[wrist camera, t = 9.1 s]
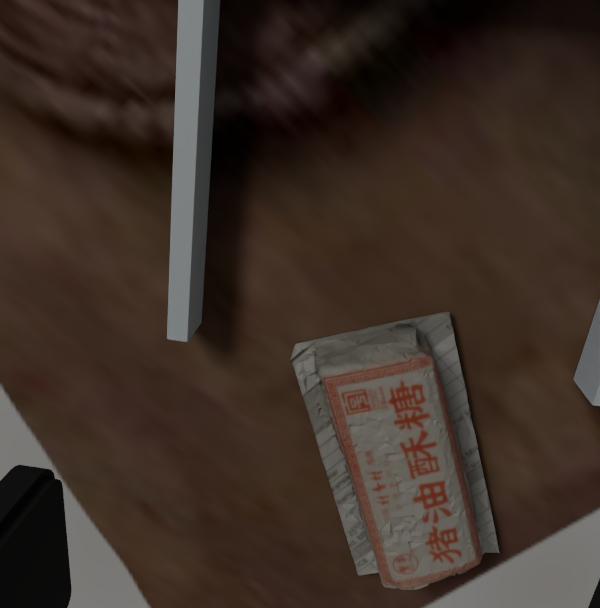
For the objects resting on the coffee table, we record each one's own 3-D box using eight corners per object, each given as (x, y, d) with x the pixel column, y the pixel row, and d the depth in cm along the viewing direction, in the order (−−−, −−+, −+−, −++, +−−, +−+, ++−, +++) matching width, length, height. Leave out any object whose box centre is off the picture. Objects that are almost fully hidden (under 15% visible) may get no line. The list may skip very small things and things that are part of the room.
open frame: (200, -73, 27) (181, -93, 25) (731, -17, 26) (775, -31, 23) (183, 319, 35) (167, 338, 32) (593, 382, 33) (614, 408, 30)
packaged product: (278, 375, 30) (460, 336, 29) (289, 340, 35) (447, 305, 33) (356, 617, 36) (514, 598, 34) (357, 559, 40) (497, 540, 38)
